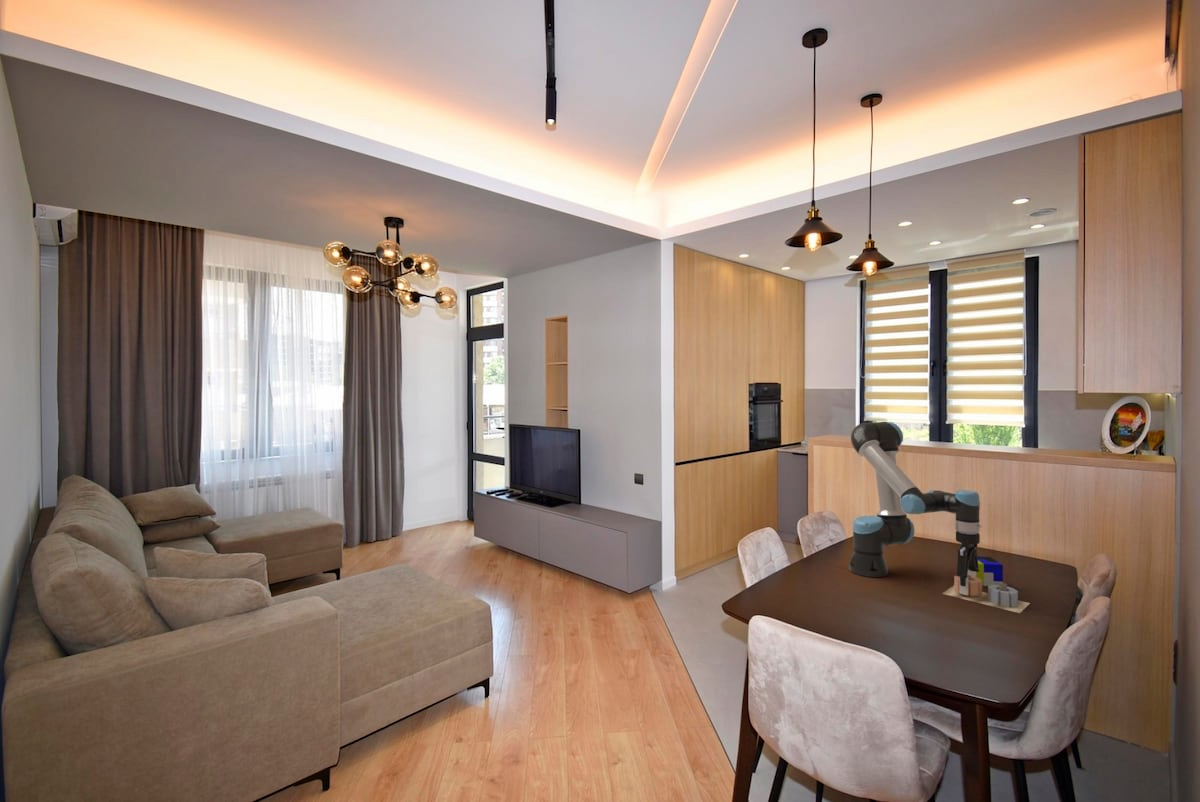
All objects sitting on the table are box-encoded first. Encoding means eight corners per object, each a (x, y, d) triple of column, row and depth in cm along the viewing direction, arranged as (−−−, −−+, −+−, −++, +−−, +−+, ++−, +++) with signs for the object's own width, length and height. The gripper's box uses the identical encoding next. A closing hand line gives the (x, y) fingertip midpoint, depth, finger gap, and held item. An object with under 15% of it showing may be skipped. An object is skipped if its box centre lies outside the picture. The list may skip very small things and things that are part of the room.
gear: (990, 604, 194) (990, 591, 194) (986, 596, 201) (986, 583, 201) (1019, 608, 190) (1019, 594, 190) (1014, 600, 197) (1014, 587, 197)
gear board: (942, 596, 205) (942, 575, 205) (954, 588, 213) (954, 567, 213) (1019, 616, 186) (1019, 593, 186) (1029, 606, 195) (1029, 584, 194)
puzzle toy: (1002, 590, 211) (1002, 564, 210) (974, 588, 213) (974, 563, 212) (989, 581, 220) (989, 556, 220) (962, 579, 222) (962, 555, 222)
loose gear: (951, 591, 205) (951, 578, 204) (959, 586, 210) (959, 573, 210) (977, 597, 198) (977, 584, 198) (984, 591, 203) (984, 578, 203)
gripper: (969, 539, 194) (970, 601, 194) (988, 528, 207) (988, 586, 208) (946, 534, 200) (946, 595, 200) (965, 525, 213) (966, 581, 214)
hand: (967, 591), depth 204 cm, fingers closed on loose gear, 8 cm apart
